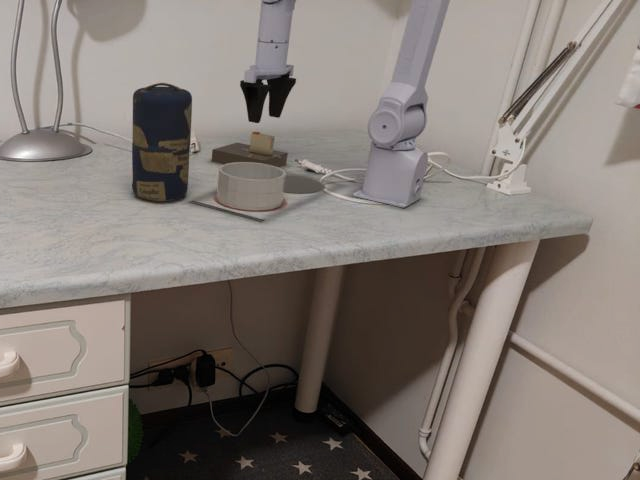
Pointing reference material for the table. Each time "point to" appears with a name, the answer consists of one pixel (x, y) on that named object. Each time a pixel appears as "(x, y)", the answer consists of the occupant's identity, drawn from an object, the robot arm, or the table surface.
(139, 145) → the canister
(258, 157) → the dial box
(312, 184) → the hob
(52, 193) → the table surface
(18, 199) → the table surface
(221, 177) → the pot
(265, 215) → the table surface
